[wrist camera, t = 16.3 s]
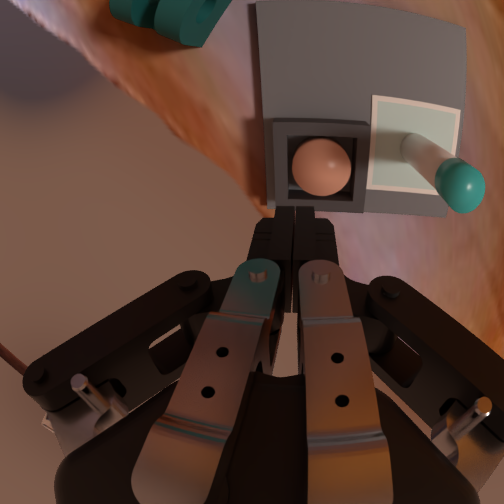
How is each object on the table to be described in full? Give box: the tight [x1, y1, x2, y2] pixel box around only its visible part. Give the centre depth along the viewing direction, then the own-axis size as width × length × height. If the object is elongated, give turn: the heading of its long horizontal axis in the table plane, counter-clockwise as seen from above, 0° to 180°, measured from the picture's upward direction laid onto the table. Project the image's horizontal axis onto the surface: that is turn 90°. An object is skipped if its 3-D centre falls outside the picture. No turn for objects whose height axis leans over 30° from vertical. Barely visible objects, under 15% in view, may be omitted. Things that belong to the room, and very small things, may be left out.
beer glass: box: [42, 413, 54, 433], centre depth 77 cm, size 7×7×15 cm
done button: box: [292, 136, 351, 196], centre depth 25 cm, size 5×5×2 cm
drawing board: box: [256, 0, 467, 218], centre depth 22 cm, size 20×19×3 cm
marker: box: [400, 133, 485, 213], centre depth 19 cm, size 3×3×10 cm
